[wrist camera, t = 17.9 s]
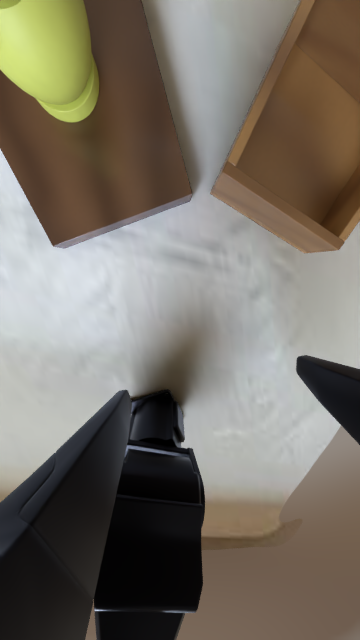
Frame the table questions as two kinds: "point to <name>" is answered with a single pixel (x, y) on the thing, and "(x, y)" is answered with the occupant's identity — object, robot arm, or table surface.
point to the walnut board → (99, 138)
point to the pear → (50, 55)
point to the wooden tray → (303, 133)
